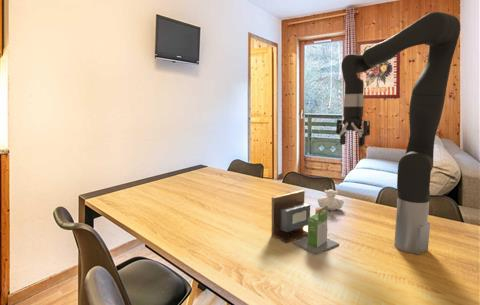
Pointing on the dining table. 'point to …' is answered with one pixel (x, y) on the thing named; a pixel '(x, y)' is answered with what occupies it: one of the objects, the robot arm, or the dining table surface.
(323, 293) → the dining table surface
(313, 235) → the ink box
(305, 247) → the mat
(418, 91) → the robot arm
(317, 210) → the brown egg
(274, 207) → the open brown box
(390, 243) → the dining table surface
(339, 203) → the bust
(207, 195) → the dining table surface
